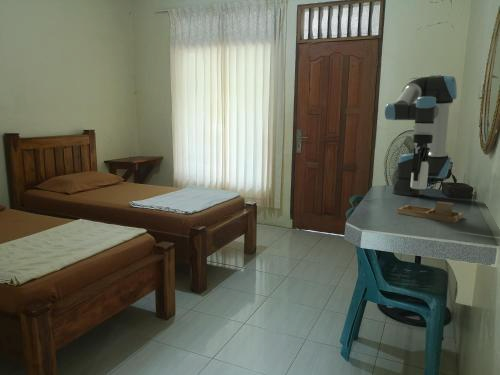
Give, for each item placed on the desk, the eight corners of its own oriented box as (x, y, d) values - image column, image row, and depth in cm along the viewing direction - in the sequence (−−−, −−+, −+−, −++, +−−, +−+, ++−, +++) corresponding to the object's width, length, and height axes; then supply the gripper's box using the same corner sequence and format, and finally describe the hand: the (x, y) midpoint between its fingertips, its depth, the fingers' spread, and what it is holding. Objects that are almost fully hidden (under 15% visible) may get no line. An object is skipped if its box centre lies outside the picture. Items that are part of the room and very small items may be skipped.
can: (428, 189, 164) (430, 161, 162) (411, 189, 166) (414, 161, 164) (424, 187, 171) (426, 160, 169) (408, 186, 172) (411, 159, 170)
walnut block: (436, 215, 167) (437, 201, 166) (451, 217, 164) (453, 203, 163) (434, 218, 162) (435, 203, 161) (450, 220, 159) (451, 205, 158)
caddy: (407, 210, 178) (407, 204, 178) (462, 219, 163) (462, 213, 163) (397, 214, 170) (397, 208, 169) (454, 224, 155) (455, 217, 154)
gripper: (421, 133, 174) (417, 184, 178) (406, 133, 160) (401, 188, 163) (439, 134, 169) (434, 186, 173) (425, 134, 155) (419, 191, 158)
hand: (418, 187), depth 168 cm, fingers closed on can, 6 cm apart
